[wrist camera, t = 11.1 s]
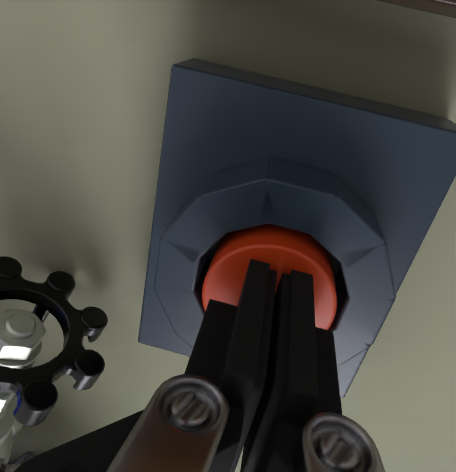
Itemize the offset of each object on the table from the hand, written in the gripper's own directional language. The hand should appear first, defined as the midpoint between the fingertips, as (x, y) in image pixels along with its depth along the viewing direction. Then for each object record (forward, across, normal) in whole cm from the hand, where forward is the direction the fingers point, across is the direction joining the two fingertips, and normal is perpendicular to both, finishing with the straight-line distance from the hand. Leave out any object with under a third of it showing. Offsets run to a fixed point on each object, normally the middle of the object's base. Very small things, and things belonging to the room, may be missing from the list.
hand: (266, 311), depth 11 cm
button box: (+4, 0, 0) cm, 5 cm away
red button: (+2, 0, 0) cm, 2 cm away
